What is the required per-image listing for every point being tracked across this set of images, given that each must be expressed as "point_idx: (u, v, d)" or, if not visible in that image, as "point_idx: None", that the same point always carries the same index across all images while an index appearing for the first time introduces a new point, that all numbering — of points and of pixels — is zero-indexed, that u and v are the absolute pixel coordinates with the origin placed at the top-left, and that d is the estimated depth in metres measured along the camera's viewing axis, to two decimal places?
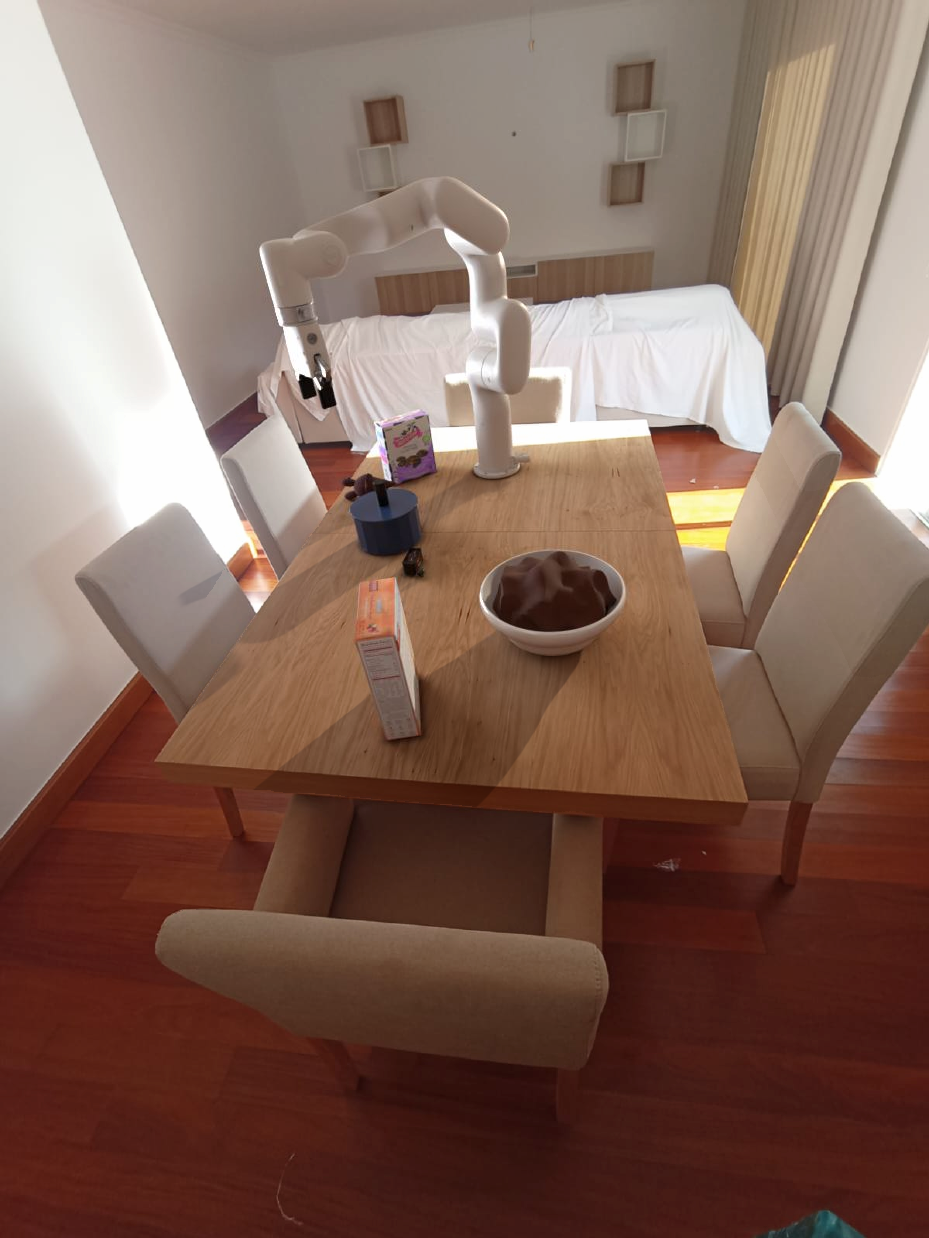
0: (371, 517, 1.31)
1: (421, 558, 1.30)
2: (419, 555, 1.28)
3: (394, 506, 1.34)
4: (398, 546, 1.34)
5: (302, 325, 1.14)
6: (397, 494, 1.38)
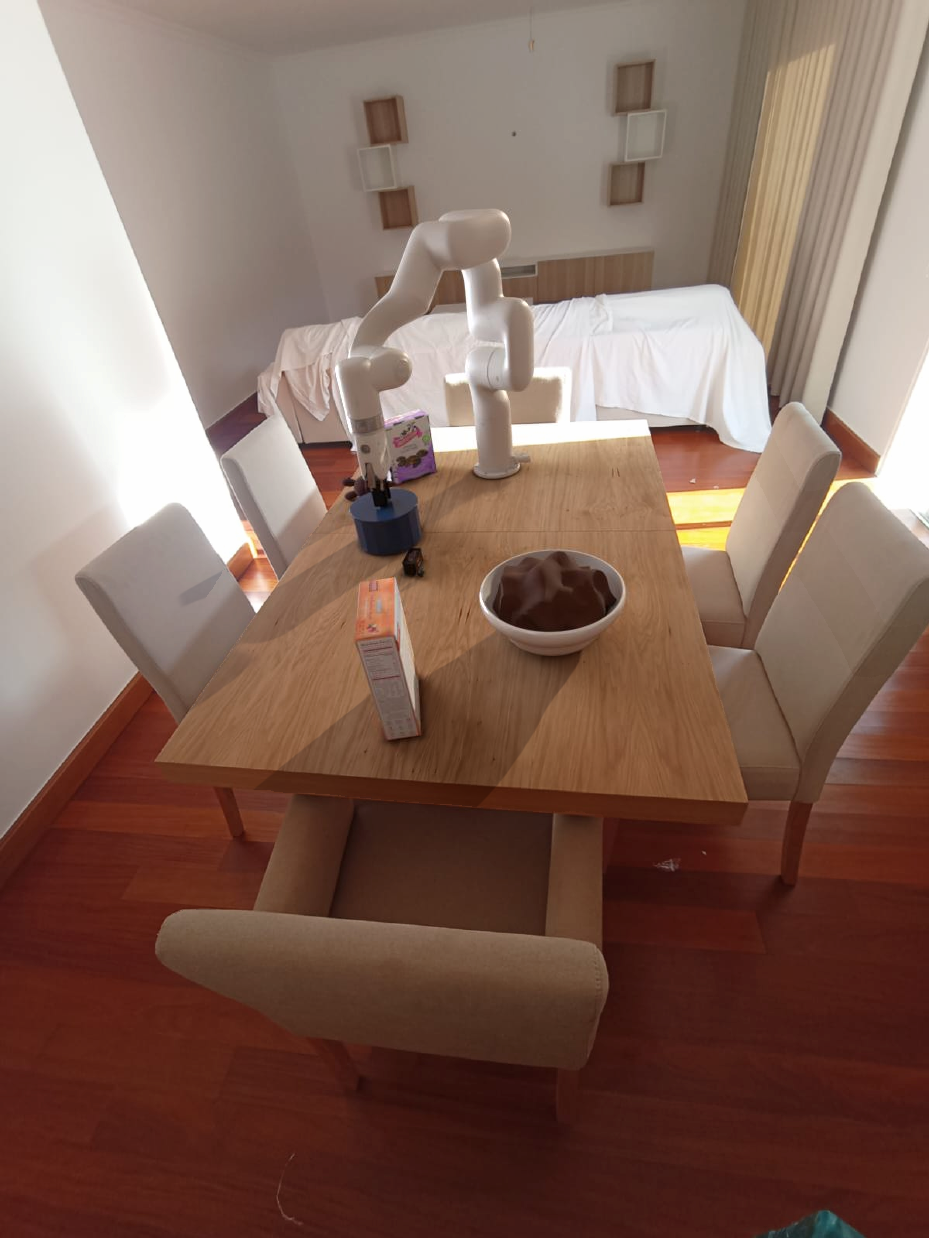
0: (371, 517, 1.31)
1: (421, 558, 1.30)
2: (419, 555, 1.28)
3: (394, 506, 1.34)
4: (398, 546, 1.34)
5: (359, 436, 1.22)
6: (397, 494, 1.38)
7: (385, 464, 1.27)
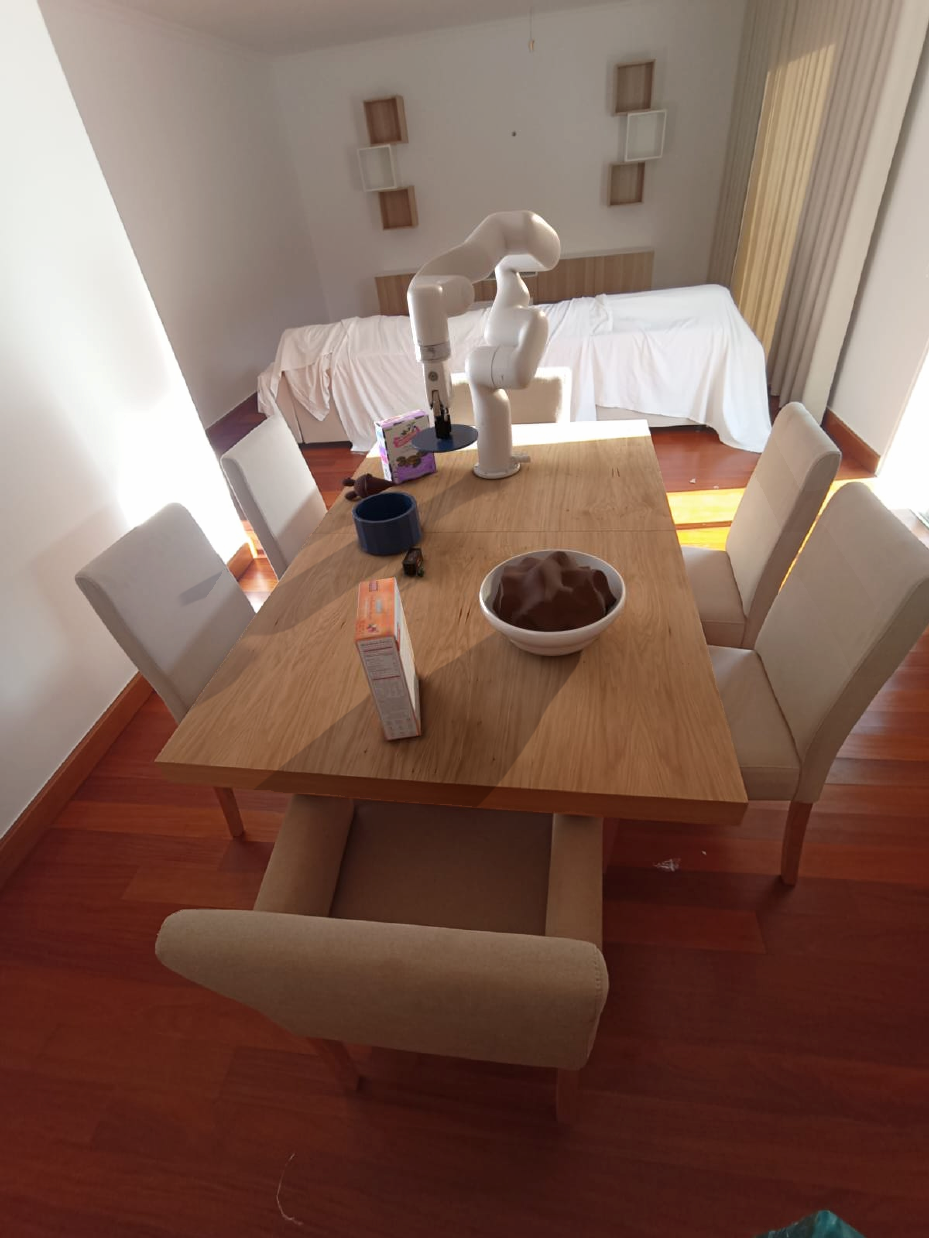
0: (434, 447, 1.33)
1: (421, 558, 1.30)
2: (419, 555, 1.28)
3: (455, 438, 1.36)
4: (398, 546, 1.34)
5: (427, 363, 1.24)
6: (456, 428, 1.41)
7: (450, 393, 1.30)
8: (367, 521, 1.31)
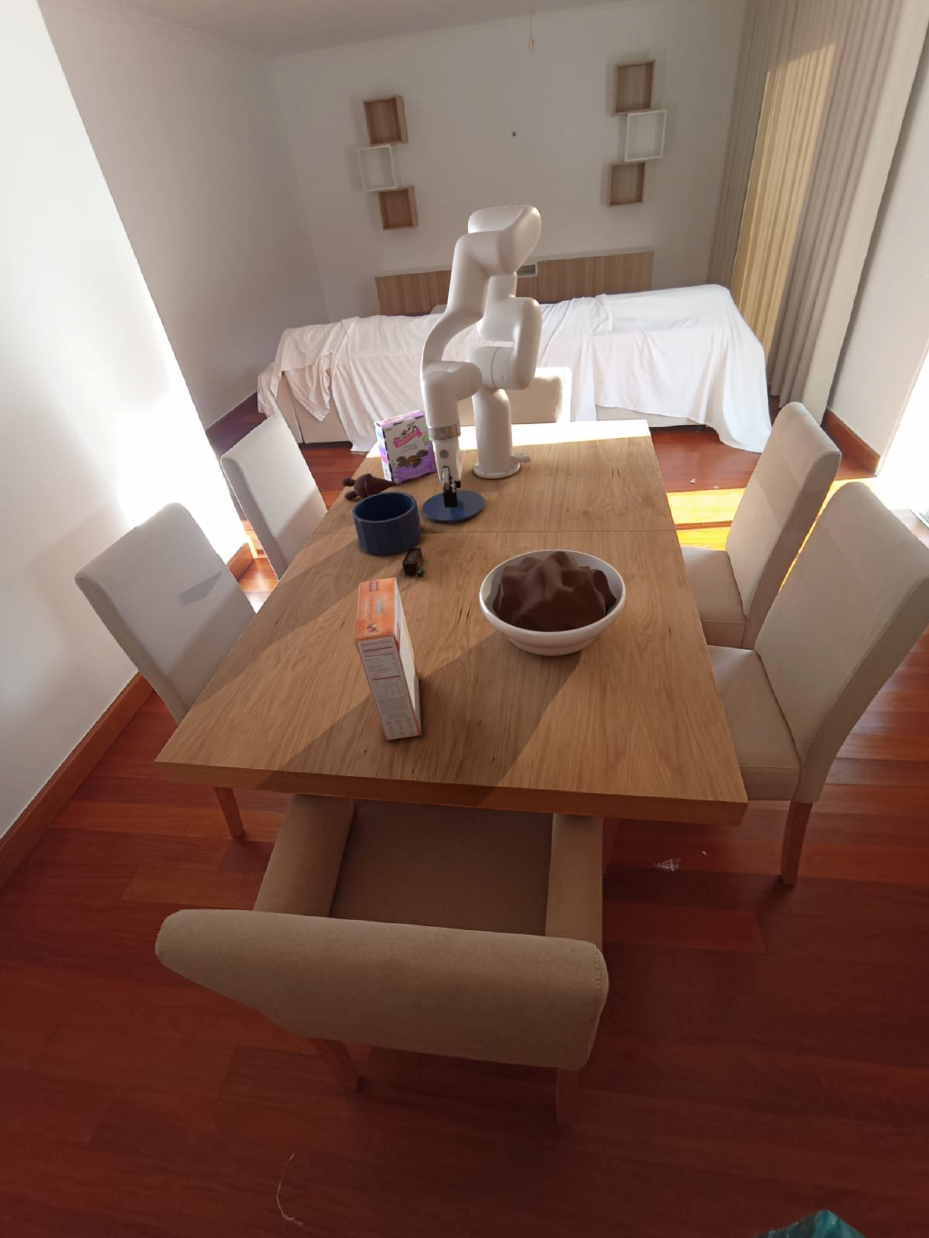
0: (444, 516, 1.44)
1: (421, 558, 1.30)
2: (419, 555, 1.28)
3: (463, 506, 1.47)
4: (398, 546, 1.34)
5: (439, 442, 1.35)
6: (464, 495, 1.52)
7: (459, 467, 1.40)
8: (367, 521, 1.31)
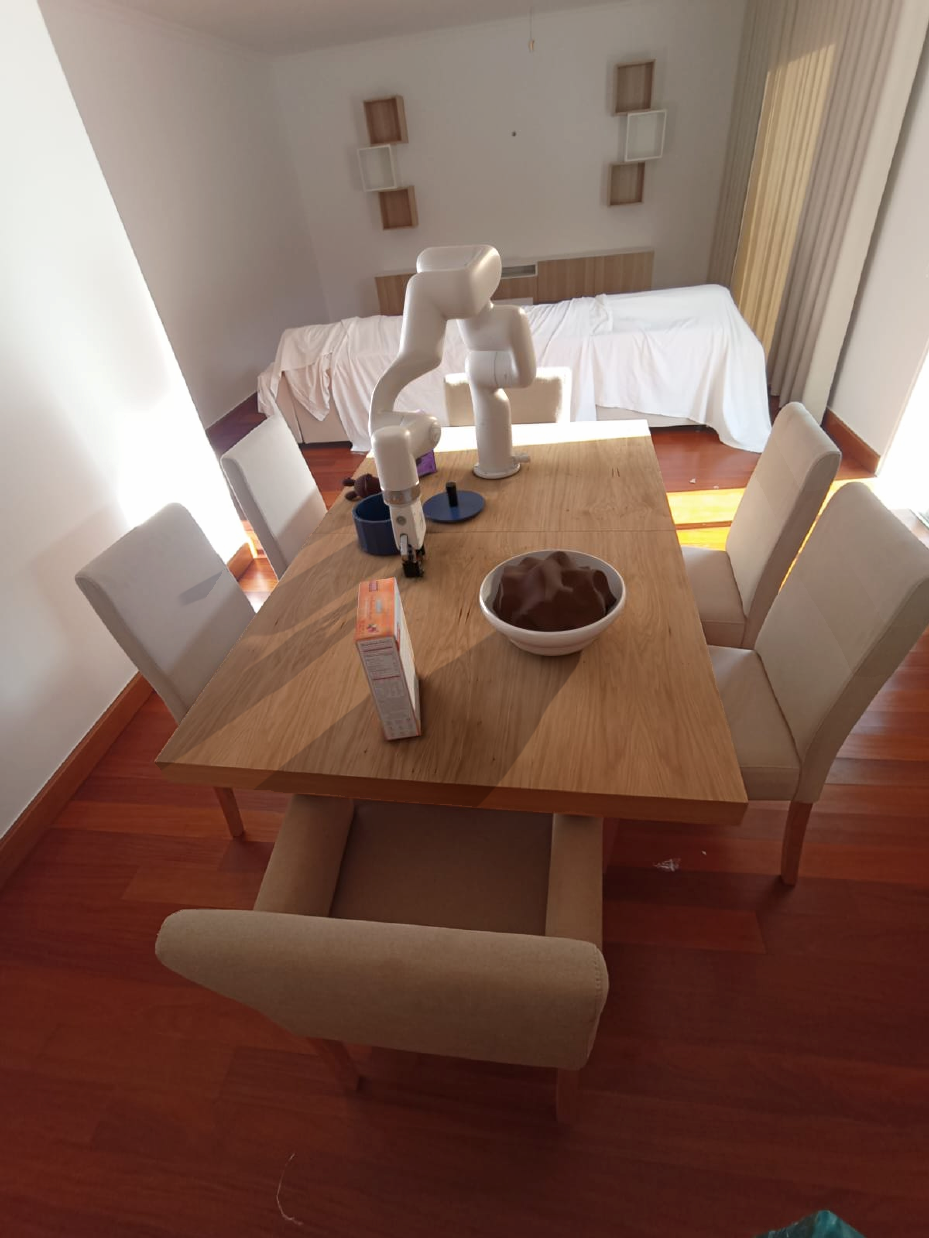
0: (444, 516, 1.44)
1: (421, 558, 1.30)
2: (419, 555, 1.28)
3: (463, 506, 1.47)
4: None
5: (394, 507, 1.16)
6: (464, 495, 1.52)
7: (420, 533, 1.21)
8: (367, 521, 1.31)
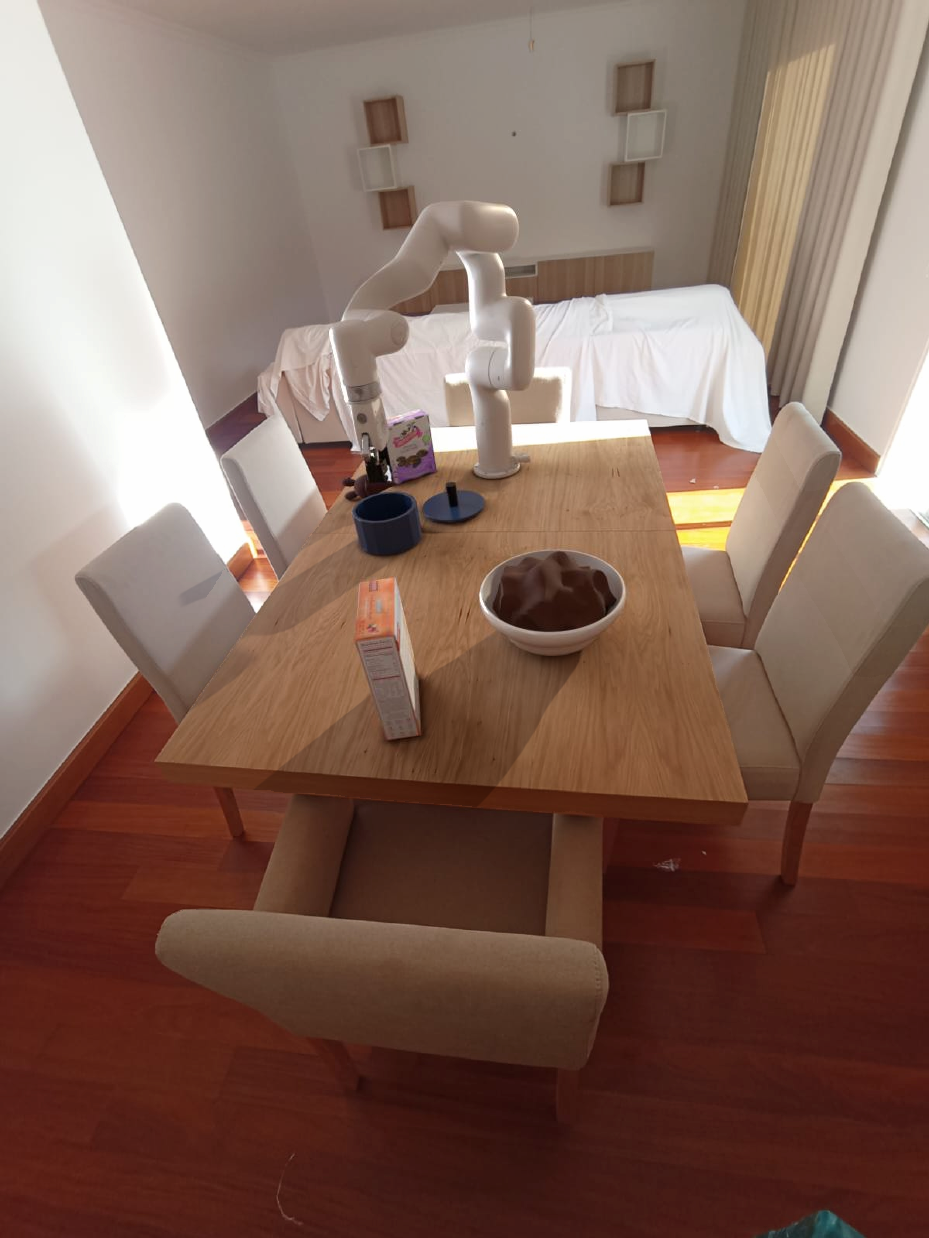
0: (444, 516, 1.44)
1: (385, 466, 1.30)
2: (383, 463, 1.28)
3: (463, 506, 1.47)
4: (398, 546, 1.34)
5: (355, 404, 1.16)
6: (464, 495, 1.52)
7: (383, 435, 1.21)
8: (367, 521, 1.31)
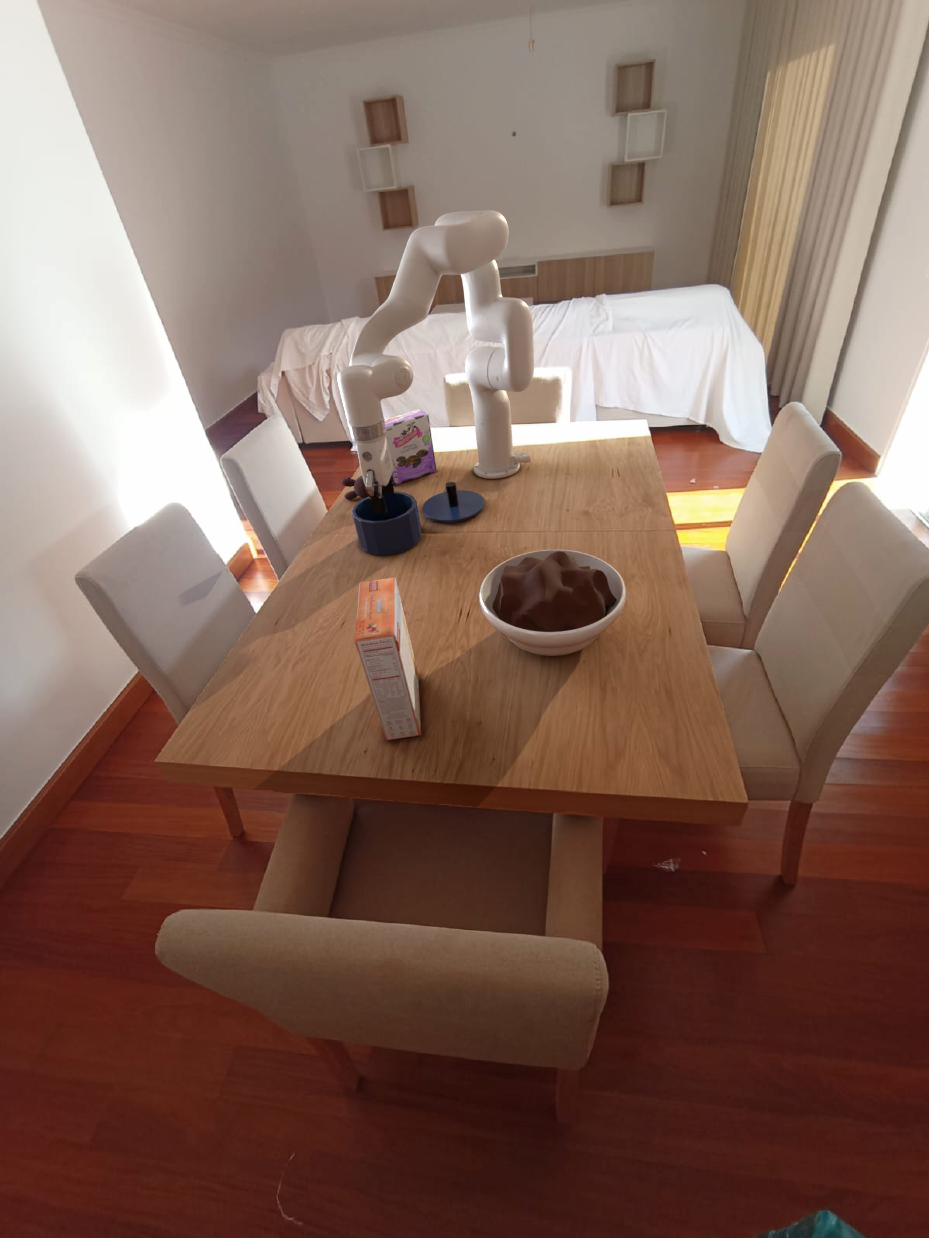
0: (444, 516, 1.44)
1: None
2: None
3: (463, 506, 1.47)
4: (398, 546, 1.34)
5: (361, 443, 1.23)
6: (464, 495, 1.52)
7: (387, 471, 1.28)
8: (367, 521, 1.31)
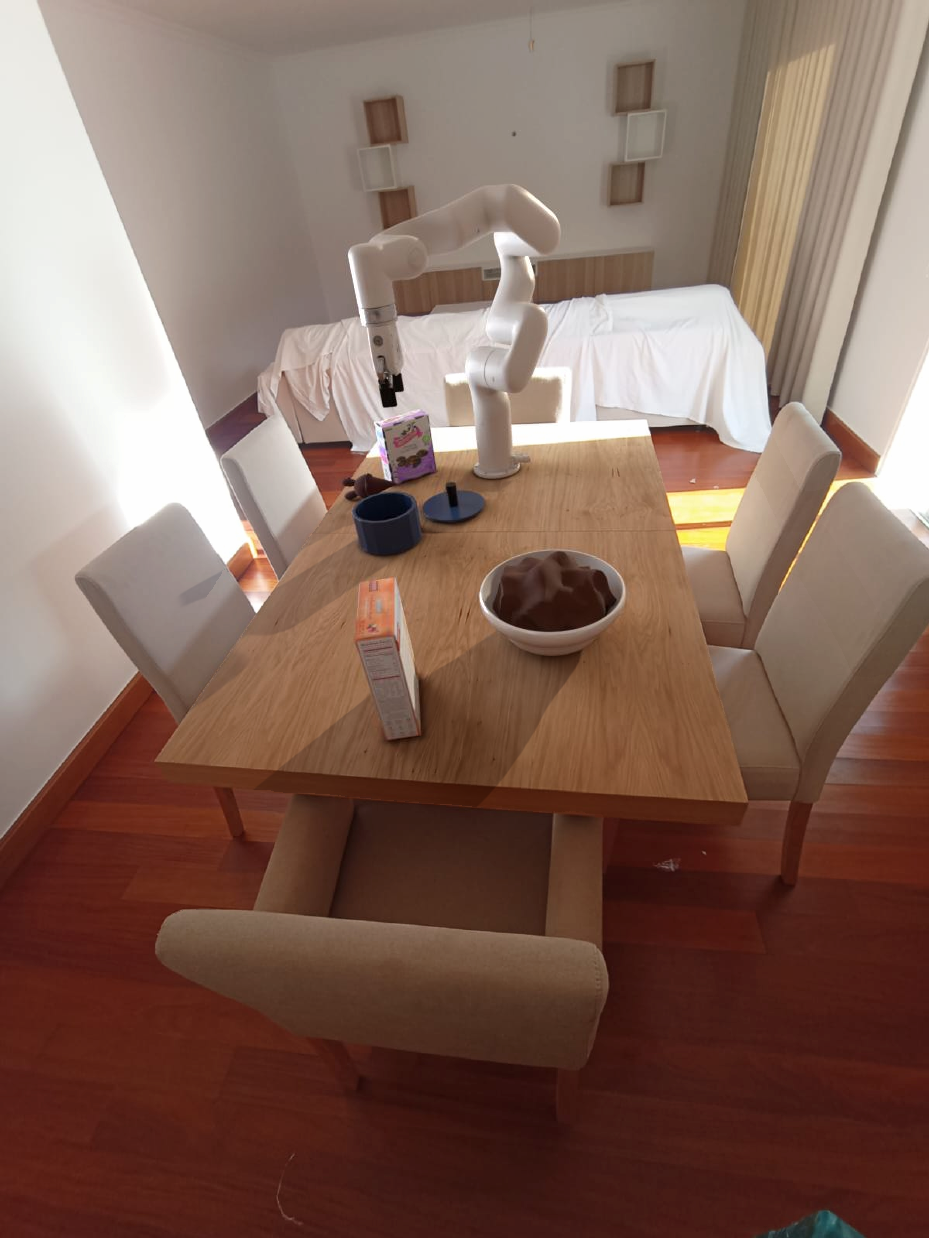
0: (444, 516, 1.44)
1: None
2: None
3: (463, 506, 1.47)
4: (398, 546, 1.34)
5: (371, 327, 1.20)
6: (464, 495, 1.52)
7: (398, 360, 1.25)
8: (367, 521, 1.31)
